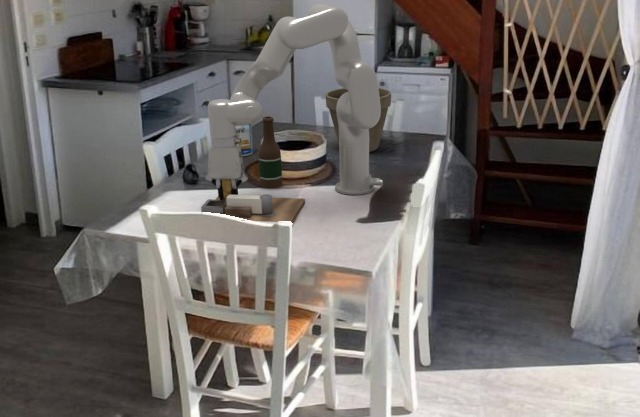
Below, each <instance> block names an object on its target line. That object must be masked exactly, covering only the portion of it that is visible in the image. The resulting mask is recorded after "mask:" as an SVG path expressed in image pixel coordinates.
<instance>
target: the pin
mask: <svg viewBox="0 0 640 417" xmlns="http://www.w3.org/2000/svg"><path fill="white" fill-rule="evenodd" d="M222 189H223V200H226V198H227V196H228V195H232V194H231V189H232V182H231V179H222Z"/></svg>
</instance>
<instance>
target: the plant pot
mask: <svg viewBox="0 0 640 417" xmlns="http://www.w3.org/2000/svg"><path fill="white" fill-rule="evenodd" d="M378 88H379V96H380V105H381V115H380V119H379V121H378V123H377V124H376V125H375V126H374V127H372V128H369V153H371V152H374V151H376V150H377V149H378V148H379V146H380V143H381V139H382V134H383V130H384V126H385V122H386V119H387V115H388V110H389V107H391V105H392V92H391V90H389V89H385V88H381V87H378ZM346 92H348V90H346V89H344V88H343V87H341V88H337V89H331V90H329V91H327V92H326V93H325V94H324V96H325V107H326V108H327V109H328V111H329V114H330V117H331V121H332V125H333V127H334V133H335V136H336V139H337V142H338V144H339V126H338V119H337V112H336V107H337V102H338V100H339V98H340V97H341V96H342V95H343V94H344V93H346Z"/></svg>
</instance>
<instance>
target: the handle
mask: <svg viewBox="0 0 640 417" xmlns="http://www.w3.org/2000/svg"><path fill="white" fill-rule="evenodd" d="M272 197H273V195H271V194H261V195H256V194H255V195H253V194H251V195H250V194H249V195H247V194H238V195H228V196H227V198H226V202H227V206H234V207H251V209H252V213H256V214H271V213H272V212H273V207H272Z"/></svg>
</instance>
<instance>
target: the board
mask: <svg viewBox="0 0 640 417" xmlns="http://www.w3.org/2000/svg"><path fill="white" fill-rule="evenodd" d="M214 200H220V197H218V196H217V197H216V198H215V199H214ZM305 203H306V199H305V198H295V197H294V198H293V197H273V196H272V207H273V212H272V213H271V214H256V213H252V209H251V207H234V206H226V207H225V214H226V215H230V216H235V217H239V218H243V219H247V220H252V221H251V222H271V223H274V222H275V223H279V222H278V221H291V222H292V223H293V224H294V223H295V222H296V220H297V218H298V216H299V214H300V213H301V211H302V209H303V208H304V206H305Z"/></svg>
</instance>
